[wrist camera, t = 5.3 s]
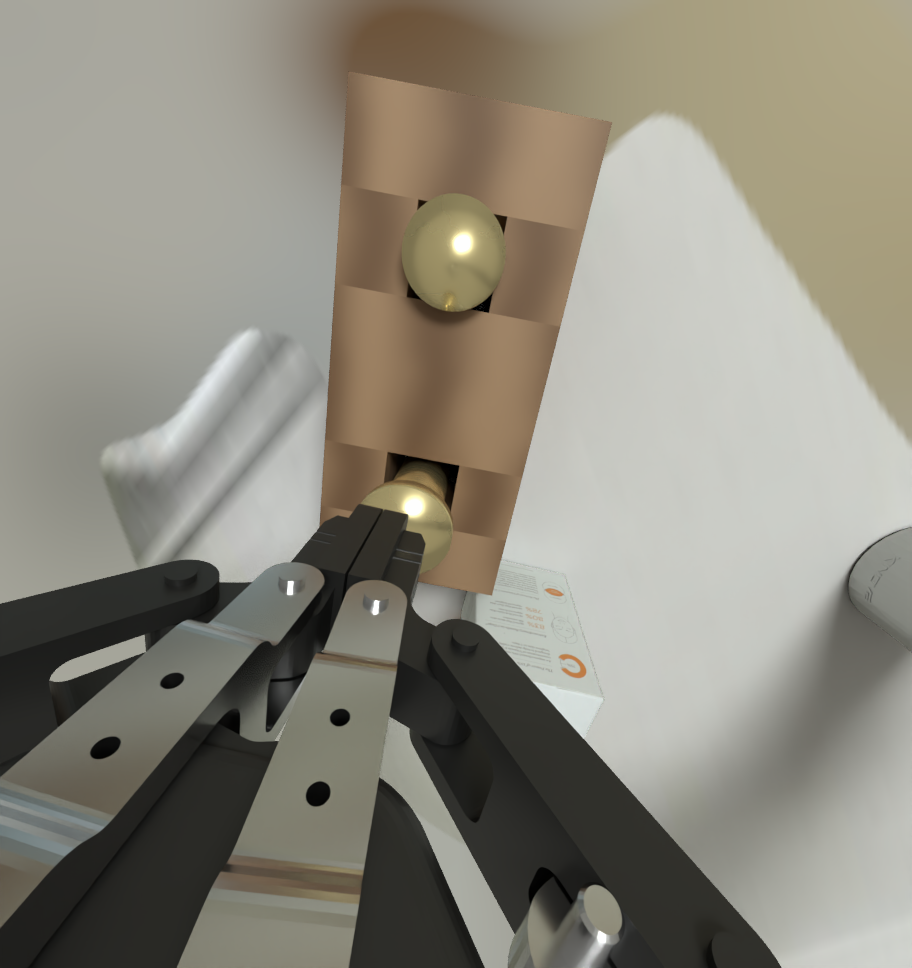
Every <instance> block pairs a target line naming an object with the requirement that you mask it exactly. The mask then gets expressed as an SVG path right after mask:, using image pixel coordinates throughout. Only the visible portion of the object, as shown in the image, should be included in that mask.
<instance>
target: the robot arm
mask: <svg viewBox="0 0 912 968" xmlns="http://www.w3.org/2000/svg"><path fill="white" fill-rule="evenodd" d="M407 523H408V514H404V513H400V512H395V511H391V510H386V509H384V510H383V509H382V508H377V507H373V506H368V505H364V504H358V505H357V507H356V508H355V510H354V511H353V512H352V514H351V515H350V517H349V518H348V517H343V516H339V515H337V516H335V517H333V518H331V519H329V520H327V521H325V522H324V523H323V524H322V525H321V526H320V527H319V529H318V530H317V532H315V534H314V535H313V536H312V537H311V539H310V540H309V541H308V542H307V543H306V544H305V546H304V547H303V548H302V549H301V551H300V552H299V553H298V554H297V555H296V557H295V558H294V559H293V560H292V561H291V562H289V563H282V564H278V565H275V566H272V567H270V568H268V569H267V570H265V571H264V572H263V573H262V574H261V575H260V576H259V577H258V578H256V579H255V580H254V581H253V582H248V583H220V582H219V571H218V570H217V568H216V567H215V566H213V565H212V564H210V563H207V562H204V561H199V560H179V561H173V562H168V563H164V564H160V565H156V566H152V567H148V568H144V569H140V570H136V571H132V572H128V573H124V574H120V575H116V576H111V577H107V578H103V579H99V580H95V581H91V582H87V583H83V584H79V585H75V586H71V587H67V588H63V589H59V590H55V591H51V592H47V593H43V594H38V595H34V596H30V597H26V598H22V599H18V600H14V601H10V602H6V603H2V604H0V968H485V967H484V965H483V963H482V961H481V959H480V956H479V954H478V952H477V949H476V947H475V945H474V943H473V940H472V938H471V936H470V934H469V931H468V929H467V927H466V925H465V922H464V920H463V918H462V915H461V913H460V911H459V909H458V906H457V904H456V902H455V900H454V897H453V895H452V893H451V890H450V888H449V886H448V884H447V881H446V879H445V877H444V874H443V872H442V870H441V868H440V866H439V863H438V861H437V859H436V856H435V854H434V852H433V849H432V847H431V845H430V843H429V840H428V838H427V836H426V833H425V831H424V829H423V827H422V825H421V823H420V821H419V820H418V818H417V817H416V815H415V813H414V812H413V810H412V808H411V807H410V806H409V805H408V803H407V802H406V801H405V800H404V798H403V797H402V796H401V795H400V794H399V793H398V792H397V791H396V790H395V789H394V788H393V787H392V786H390V785H389V784H388V783H386V782H385V781H384V780H382V779H381V778H380V777H379V775H380V769H381V763H382V757H383V751H384V745H385V739H386V733H387V727H388V721H389V716H390V717H392V718H393V719H395V720H397V721H398V722H400V723H402V724H403V725H405V726H407V727H408V728H410V739H411V742H412V744H413V746H414V748H415V750H416V752H417V754H418V756H419V758H420V759H421V761H422V763H423V765H424V767H425V769H426V771H427V772H428V774H429V776H430V778H431V780H432V782H433V784H434V785H435V787H436V789H437V791H438V793H439V795H440V796H441V798H442V800H443V802H444V804H445V806H446V808H447V809H448V811H449V813H450V815H451V817H452V819H453V821H454V822H455V824H456V826H457V828H458V830H459V832H460V834H461V835H462V837H463V839H464V841H465V843H466V845H467V846H468V848H469V850H470V852H471V854H472V856H473V858H474V859H475V861H476V863H477V865H478V867H479V869H480V871H481V872H482V874H483V876H484V878H485V880H486V882H487V884H488V885H489V887H490V889H491V891H492V893H493V895H494V897H495V898H496V900H497V902H498V904H499V906H500V907H501V909H502V911H503V913H504V915H505V917H506V918H507V921H508V922H509V924H510V926H511V928H512V930H513V932H514V933H515V936H514V938H513V941H512V944H511V947H510V952H509V957H508V968H781V966H780V964H779V963H778V961H777V959H776V958H775V957H774V955H773V954H772V952H771V951H770V949H769V948H768V947H767V945H766V944H765V943H764V942H763V940H762V939H761V938H760V937H759V936H758V934H757V933H756V932H755V931H754V930H753V929H752V928H751V926H750V925H749V924H748V923H747V922H746V921H745V920H744V919H743V917H742V916H741V915H740V914H739V913H738V912H737V911H736V910H735V908H734V907H733V906H732V905H731V904H730V903H729V902H728V901H727V899H726V898H725V897H724V896H723V895H722V894H721V893H720V892H719V890H718V889H717V888H716V887H715V886H714V885H713V884H712V883H711V882H710V880H709V879H708V878H707V877H706V876H705V875H704V874H703V873H702V871H701V870H700V869H699V868H698V867H697V866H696V865H695V864H694V862H693V861H692V860H691V859H690V858H689V857H688V856H687V855H686V853H685V852H684V851H683V850H682V849H681V848H680V847H679V846H678V844H677V843H676V842H675V841H674V840H673V839H672V838H671V837H670V835H669V834H668V833H667V832H666V831H665V830H664V829H663V828H662V826H661V825H660V824H659V823H658V822H657V821H656V820H655V819H654V817H653V816H652V815H651V814H650V813H649V812H648V811H647V810H646V809H645V807H644V806H643V805H642V804H641V803H640V802H639V801H638V800H637V798H636V797H635V796H634V795H633V794H632V793H631V792H630V791H629V789H628V788H627V787H626V786H625V785H624V784H623V783H622V782H621V780H620V779H619V778H618V777H617V776H616V775H615V774H614V773H613V771H612V770H611V769H610V768H609V767H608V766H607V765H606V764H605V762H604V761H603V760H602V759H601V758H600V757H599V756H598V755H597V753H596V752H595V751H594V750H593V749H592V748H591V747H590V746H589V745H588V743H587V742H586V741H585V740H584V739H583V738H582V737H581V736H580V734H579V733H578V732H577V731H576V730H575V729H574V728H573V727H572V725H571V724H570V723H569V722H568V721H567V720H566V719H565V718H564V716H563V715H562V714H561V713H560V712H559V711H558V710H557V709H556V707H555V706H554V705H553V704H552V703H551V702H550V701H549V700H548V698H547V697H546V696H545V695H544V694H543V693H542V692H541V691H540V689H539V688H538V687H537V686H536V685H535V684H534V683H533V682H532V681H531V679H530V678H529V677H528V676H527V675H526V674H525V673H524V672H523V670H522V669H521V668H520V667H519V666H518V665H517V664H516V663H515V661H514V660H513V659H512V658H511V657H510V656H509V655H508V654H507V652H506V651H505V650H504V649H503V648H502V647H501V646H500V645H499V643H498V642H497V641H496V640H495V639H494V638H493V637H492V636H491V634H490V633H489V632H488V631H487V630H485V629H484V628H483V627H481V626H479V625H478V624H476V623H473V622H470V621H467V620H462V619H451V620H447V621H444V622H442V623H440V624H439V625H438V626H434V625H432V624H430V623H428V622H426V621H425V620H423V619H422V618H421V617H420V616H418V615H417V613H416V612H415V611H414V609H413V607H412V602H413V598H414V595H415V591H416V588H417V583H418V578H419V574H420V569H421V564H422V559H423V555H424V550H425V545H426V544H425V541H424V539H423V537H422V534H420V533H415V532H411V531H406V528H407ZM848 587H849V596H850V598H851V601H852V603H853V604H854V606H855V607H856V608H857V609H858V610H859V611H860V612H861V613H863V614H864V615H865V616H866V617H868V618H869V619H870V620H872V621H873V622H874V623H875V624H877V625H878V626H879V627H881V628H882V629H883V630H884V631H886V632H887V633H888V634H889V635H891V636H892V637H893V638H895V639H896V640H897V641H898V642H899V643H901V644H902V645H903V646H904V647H906V648H907V649H908V650H909V651H911V652H912V527H911V528H908V529H905V530H901V531H898V532H896V533H894V534H892V535H890V536H888V537H886V538H884V539H882V540H881V541H879V542H878V543H876V544H875V545H873V546H872V547H871V548H870V549H869V550H868V551H867V552H866V553H865V554H864V555H863V556H862V557H861V558H860V560H859V561H858V562H857V564H856V565H855V567H854V569H853V571H852V573H851V575H850V580H849V584H848ZM144 634H145V644H146V652H145V653H142V654H140V655H136V656H134V657H131V658H128V659H126V660H123V661H120V662H118V663H115V664H112V665H109V666H107V667H104V668H101V669H98V670H96V671H93V672H90V673H88V674H85V675H82V676H79V677H77V678H74V679H72V680H68V681H64V682H52V681H49V679H50V677H51V675H52V674H53V672H54V671H55V670H56V669H57V668H58V667H59V666H61V665H62V664H64V663H65V662H67V661H69V660H71V659H74V658H77V657H80V656H83V655H86V654H88V653H91V652H94V651H97V650H100V649H103V648H106V647H109V646H112V645H115V644H118V643H121V642H124V641H127V640H129V639H132V638H135V637H138V636H141V635H144ZM322 650H324V651H323V653H322ZM287 719H288V720H287ZM286 721H287V722H286ZM285 723H286V725H285V727H284V730H283V732H282V735H281V737H280V739H279V741H275V739H276V737H277V736H278V734H279V732H280V731H281V729H282V727H283V726H284V724H285Z"/></svg>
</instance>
